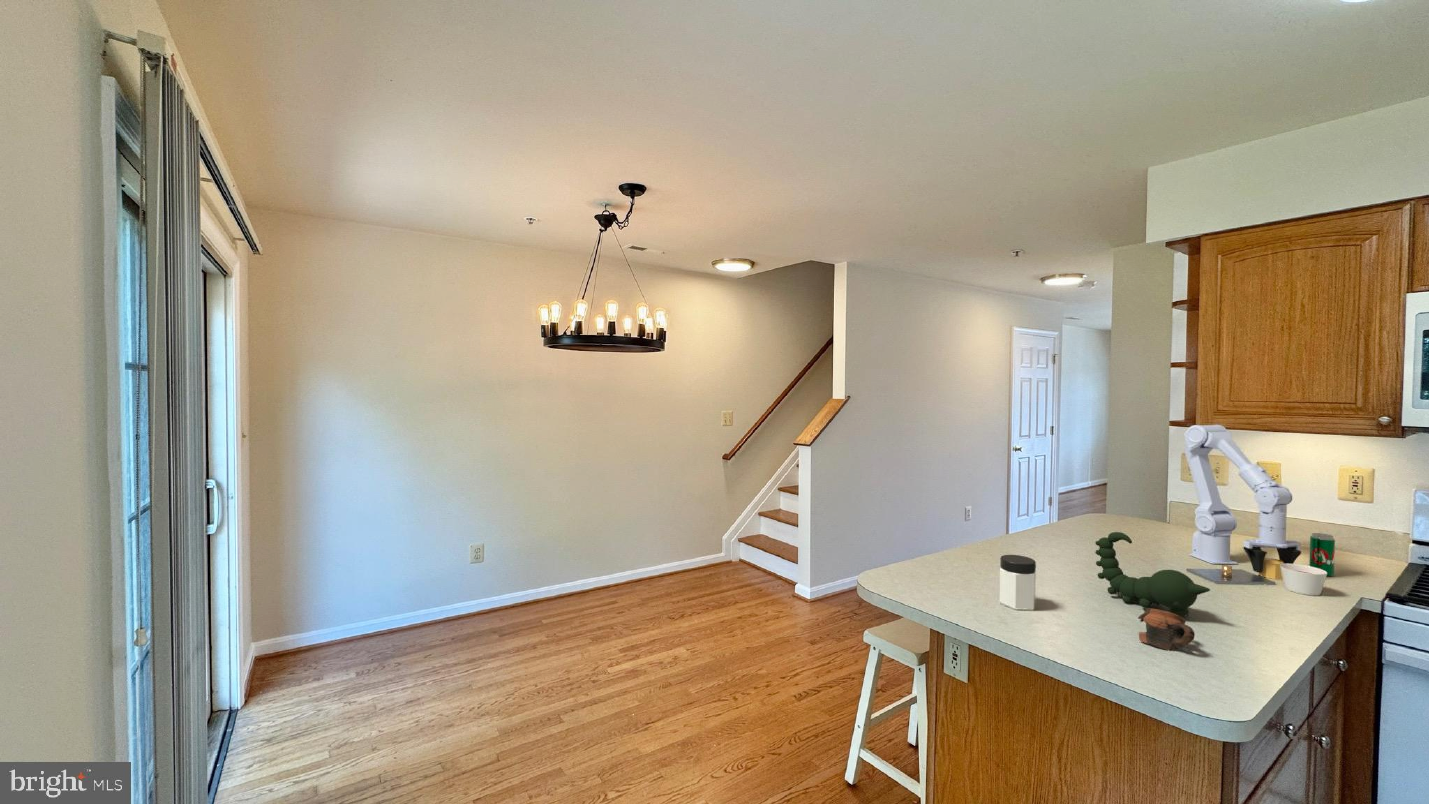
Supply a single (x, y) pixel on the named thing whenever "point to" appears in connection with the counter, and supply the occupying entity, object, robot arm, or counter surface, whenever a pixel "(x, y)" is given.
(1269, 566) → the orange cap
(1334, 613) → the counter surface
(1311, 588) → the candle
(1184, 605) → the toy figurine
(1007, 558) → the jar
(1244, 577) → the plate
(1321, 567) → the soda can
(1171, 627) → the pottery mug
